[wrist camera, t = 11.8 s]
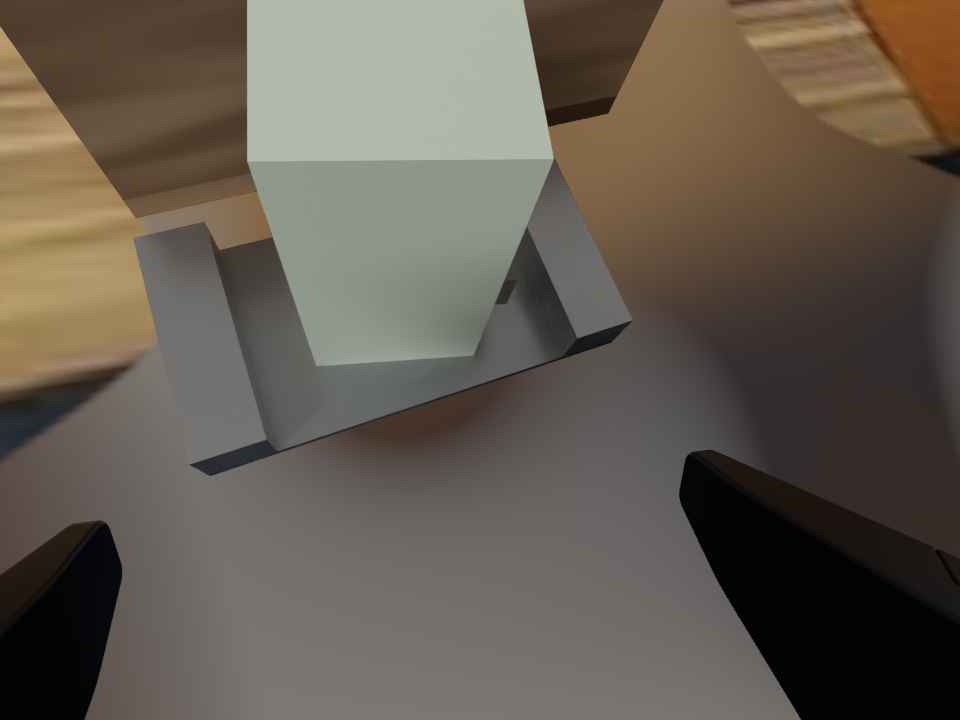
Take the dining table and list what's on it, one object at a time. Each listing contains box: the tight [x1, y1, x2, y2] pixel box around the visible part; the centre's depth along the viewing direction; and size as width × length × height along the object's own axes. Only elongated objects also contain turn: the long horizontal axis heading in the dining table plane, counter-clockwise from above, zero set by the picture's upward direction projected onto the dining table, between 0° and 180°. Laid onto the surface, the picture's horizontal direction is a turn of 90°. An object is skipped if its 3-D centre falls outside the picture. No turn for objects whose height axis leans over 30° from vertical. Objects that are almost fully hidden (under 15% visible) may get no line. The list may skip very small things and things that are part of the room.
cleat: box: [133, 158, 633, 476], centre depth 19 cm, size 7×14×2 cm, turn 111°
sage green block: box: [247, 0, 554, 366], centre depth 15 cm, size 4×6×10 cm
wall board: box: [0, 0, 663, 218], centre depth 18 cm, size 3×18×9 cm, turn 111°
